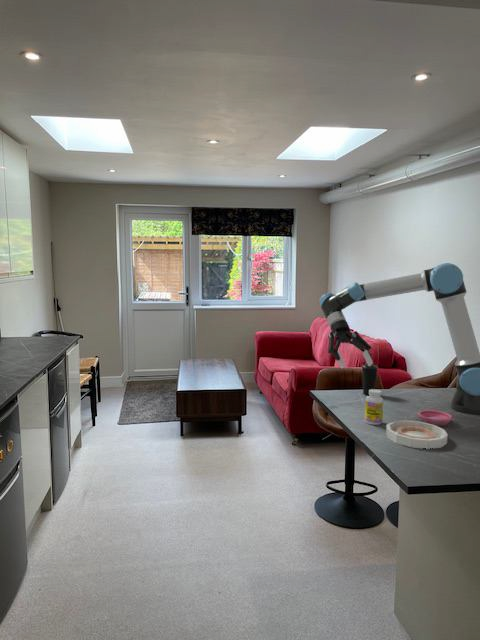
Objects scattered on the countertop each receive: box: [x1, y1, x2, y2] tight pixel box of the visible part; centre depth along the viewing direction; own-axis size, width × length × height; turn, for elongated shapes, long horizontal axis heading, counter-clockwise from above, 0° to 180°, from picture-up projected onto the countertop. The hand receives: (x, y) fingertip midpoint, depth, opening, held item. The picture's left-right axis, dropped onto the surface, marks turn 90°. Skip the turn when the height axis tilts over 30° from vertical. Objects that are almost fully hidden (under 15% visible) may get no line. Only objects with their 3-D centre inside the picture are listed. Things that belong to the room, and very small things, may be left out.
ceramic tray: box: [385, 419, 448, 450], centre depth 166 cm, size 20×20×3 cm
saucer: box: [417, 409, 453, 427], centre depth 184 cm, size 12×12×3 cm
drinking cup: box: [361, 352, 379, 396], centre depth 221 cm, size 8×8×20 cm
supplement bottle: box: [364, 389, 384, 426], centre depth 181 cm, size 7×7×13 cm
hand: (357, 365), depth 189 cm, fingers open, 13 cm apart
